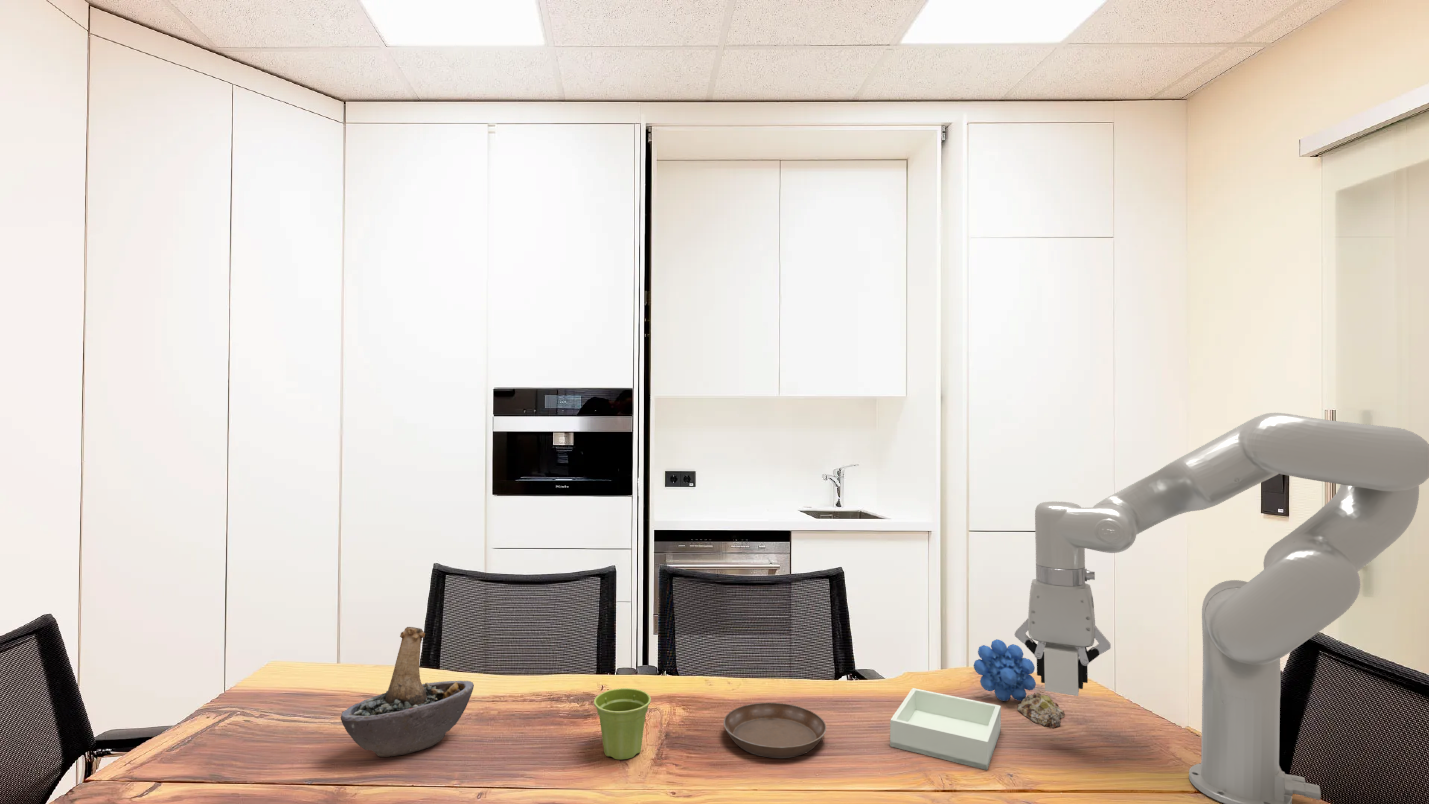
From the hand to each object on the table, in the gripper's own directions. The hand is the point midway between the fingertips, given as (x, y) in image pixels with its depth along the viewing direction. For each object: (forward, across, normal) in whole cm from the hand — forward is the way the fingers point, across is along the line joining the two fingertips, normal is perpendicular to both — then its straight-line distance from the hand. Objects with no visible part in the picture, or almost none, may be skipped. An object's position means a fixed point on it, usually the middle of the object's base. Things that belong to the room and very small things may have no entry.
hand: (1062, 682), depth 122 cm
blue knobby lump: (+11, +11, -15) cm, 22 cm away
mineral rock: (+12, +4, -13) cm, 18 cm away
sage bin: (+11, +18, +6) cm, 22 cm away
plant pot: (+10, +64, +38) cm, 75 cm away
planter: (+9, +95, +55) cm, 110 cm away
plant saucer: (+11, +44, +21) cm, 50 cm away
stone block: (+1, 0, 0) cm, 1 cm away
